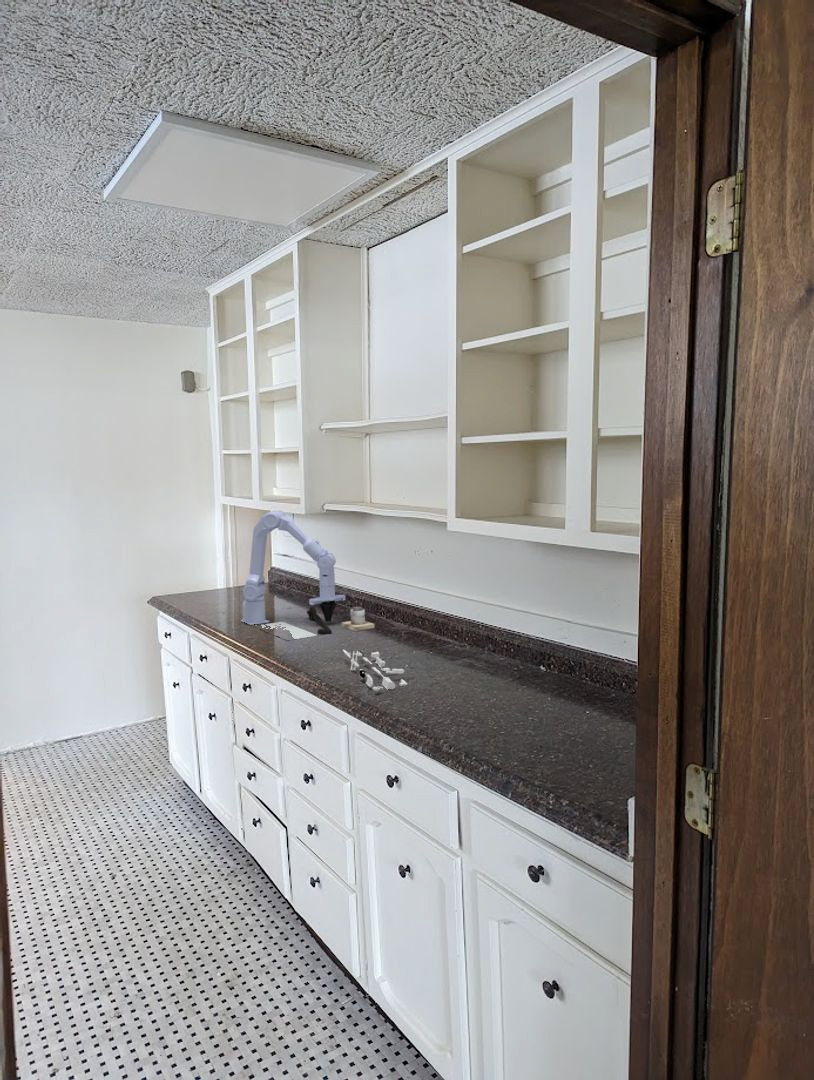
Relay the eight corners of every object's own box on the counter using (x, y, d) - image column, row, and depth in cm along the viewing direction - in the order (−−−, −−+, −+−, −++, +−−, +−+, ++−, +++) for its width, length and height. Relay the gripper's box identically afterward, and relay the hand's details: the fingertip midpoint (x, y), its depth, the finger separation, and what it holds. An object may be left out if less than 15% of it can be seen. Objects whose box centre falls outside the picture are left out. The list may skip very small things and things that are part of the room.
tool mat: (252, 626, 264) (252, 626, 264) (281, 622, 271) (281, 621, 271) (287, 641, 242) (287, 640, 241) (317, 635, 249) (317, 635, 249)
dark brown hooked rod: (318, 640, 250) (299, 617, 278) (331, 640, 252) (312, 617, 279) (318, 626, 249) (300, 605, 277) (332, 626, 251) (313, 604, 279)
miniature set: (337, 659, 216) (374, 660, 221) (372, 700, 184) (415, 701, 189) (340, 638, 216) (377, 640, 220) (376, 677, 183) (419, 678, 188)
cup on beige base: (341, 626, 262) (341, 607, 262) (359, 623, 267) (359, 604, 266) (356, 631, 254) (355, 611, 254) (374, 628, 259) (374, 608, 258)
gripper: (315, 589, 258) (316, 625, 259) (349, 584, 267) (350, 620, 268) (306, 586, 264) (307, 622, 265) (339, 582, 272) (340, 617, 274)
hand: (328, 621), depth 267 cm, fingers closed
